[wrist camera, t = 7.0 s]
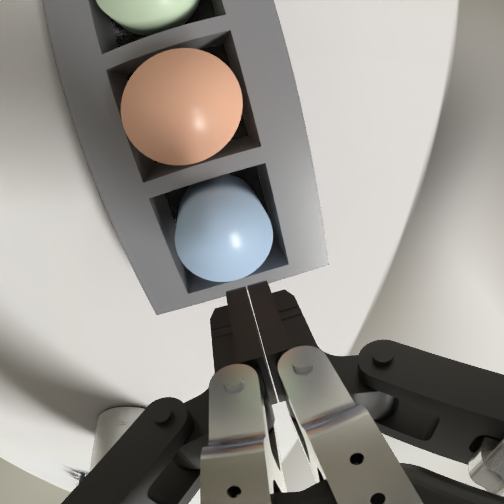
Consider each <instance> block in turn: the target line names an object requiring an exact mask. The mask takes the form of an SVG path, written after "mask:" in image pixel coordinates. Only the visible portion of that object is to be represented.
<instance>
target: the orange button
mask: <svg viewBox="0 0 504 504" xmlns="http://www.w3.org/2000/svg"><path fill="white" fill-rule="evenodd" d="M242 108H243V100H242V93H241V88H240V86H239V83H238V81H237V79H236V77H235V75H234V73H233V72H232V71H231V69H230V68H229V67H228V66H227V65H226V64H225V63H224V62H223V61H221V60H220V59H219V58H217V57H216V56H214V55H212V54H210V53H208V52H205V51H202V50H198V49H192V48H177V49H171V50H167V51H164V52H161V53H159V54H156V55H155V56H153V57H151V58H149V59H148V60H147V61H145V62H144V63H143V64H142V65H140V66H139V67H138V68H137V69H136V71H135V72H134V73H133V74H132V76H131V77H130V79H129V81H128V82H127V84H126V87H125V89H124V92H123V95H122V100H121V119H122V123H123V127H124V130H125V132H126V134H127V136H128V138H129V140H130V141H131V142H132V144H133V145H134V146H135V147H136V148H137V149H138V150H139V151H140V152H141V153H143V154H144V155H145V156H147V157H149V158H151V159H152V160H155V161H157V162H160V163H164V164H168V165H189V164H194V163H198V162H200V161H203V160H206V159H207V158H209V157H211V156H213V155H214V154H216V153H217V152H219V151H220V150H221V149H222V148H223V147H224V146H225V145H226V144H227V143H228V142H229V141H230V140H231V138H232V137H233V135H234V134H235V132H236V130H237V128H238V125H239V122H240V120H241V115H242Z"/></svg>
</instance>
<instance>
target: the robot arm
mask: <svg viewBox="0 0 504 504" xmlns="http://www.w3.org/2000/svg"><path fill="white" fill-rule="evenodd" d="M247 287H248V291H249V295H250V299H251V302H252V306H253V310H254V313H255V317H256V321H257V325H258V328H259V332H260V336H261V339H262V343H263V347H264V351H265V354H266V358H267V361H268V365H269V368H270V371H271V375H272V378H273V382H274V385H275V388H276V392H277V395H278V399H279V402H282V401H286V404H287V407H288V410H289V414H290V417H291V421H292V424H293V426H294V429H295V431H296V433H297V436H298V438H299V441H300V443H301V446H302V448H303V450H304V453H305V455H306V458H307V460H308V463H309V465H310V467H311V470H312V473H313V476H314V479H315V482H316V484H315V485H313V486H311V487H309V488H307V489H306V490H303V491H300V492H287V488H286V484H285V480H284V476H283V471H282V465H281V459H280V453H279V446H278V440H277V434H276V427H275V423H274V421H275V418H274V413H273V409H272V406H271V405H272V404H276V403H277V399H276V395H275V392H274V388H273V384H272V381H271V377H270V373H269V370H268V366H267V362H266V358H265V355H264V351H263V347H262V344H261V340H260V336H259V332H258V329H257V325H256V322H255V318H254V315H253V311H252V308H251V304H250V301H249V297H248V294H247V290H246V287H245V286H244V287H240V288H236V289H232V290H229V291H226V297H227V303H228V305H227V306H223V307H219V308H215V310H214V312H213V314H212V316H211V318H210V324H211V336H212V347H213V358H214V368H215V374H214V376H213V377H212V379H211V380H210V384H209V388H208V389H207V390H206V391H205V392H204V393H202V394H201V395H199V396H197V397H195V398H193V399H191V400H189V401H187V402H185V403H183V402H182V401H180V400H178V399H176V398H172V397H166V398H161V399H158V400H156V401H154V402H152V403H151V404H150V405H148V406H147V407H146V409H143V408H137V407H117V408H111V409H108V410H106V411H104V412H102V413H101V414H100V415H99V417H98V421H97V426H96V433H95V439H94V446H93V452H92V459H91V467H90V472H89V473H88V475H87V476H86V477H85V478H84V479H83V480H82V481H81V482H80V483H79V485H78V486H77V487H76V488H75V489H74V490H73V491H72V492H71V493H70V495H69V496H68V497H67V498H66V499H65V500H64V501H63V502H62V503H61V504H188V503H189V502H190V501H191V499H192V498H193V497H194V495H195V494H196V493H197V491H198V490H199V489H200V496H201V504H504V375H502V374H499V373H495V372H492V371H489V370H485V369H482V368H478V367H475V366H471V365H468V364H465V363H461V362H458V361H454V360H451V359H448V358H445V357H441V356H438V355H435V354H432V353H428V352H425V351H422V350H419V349H416V348H413V347H410V346H407V345H403V344H400V343H397V342H394V341H391V340H377V341H373V342H371V343H369V344H367V345H366V346H365V347H363V348H362V350H361V351H360V353H359V355H356V356H333V355H330V354H327V353H325V352H323V351H322V350H321V349H320V348H319V347H318V346H317V344H316V342H315V340H314V338H313V336H312V333H311V331H310V329H309V327H308V325H307V323H306V320H305V318H304V316H303V315H302V312H301V310H300V308H299V305H298V303H297V301H296V299H295V297H294V296H293V295H292V294H290V293H289V292H287V291H286V290H281V291H278V292H274V293H271V290H270V288H269V285H268V282H267V280H265V281H261V282H258V283H254V284H251V285H247ZM382 433H383V434H385V435H388V436H390V437H393V438H395V439H398V440H401V441H403V442H405V443H408V444H410V445H413V446H416V447H418V448H421V449H424V450H426V451H429V452H432V453H435V454H437V455H440V456H443V457H446V458H449V459H452V460H455V461H458V462H462V463H464V464H468V471H469V475H470V477H471V479H472V480H473V481H474V482H475V483H476V484H478V485H480V486H482V487H484V488H485V489H486V490H487V491H488V492H487V491H484V490H481V489H478V488H475V487H472V486H469V485H467V484H464V483H461V482H458V481H455V480H453V479H450V478H448V477H445V476H443V475H440V474H437V473H435V472H432V471H430V470H427V469H425V468H422V467H419V466H416V465H412V464H405V463H399V462H398V460H397V458H396V457H395V455H394V453H393V452H392V450H391V448H390V447H389V445H388V443H387V442H386V440H385V438H384V437H383V435H382Z"/></svg>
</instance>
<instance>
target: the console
mask: <svg viewBox="0 0 504 504" xmlns="http://www.w3.org/2000/svg"><path fill="white" fill-rule="evenodd" d="M211 1H212V5H213V8H214V12H215V15H216V17H213V18H209V19H205V20H201V21H197V22H193V23H189V24H186V25H182V26H179V27H175V28H172V29H169V30H166V31H163V32H160V33H156V34H154V35H151V36H148V37H145V38H142V39H139V40H137V41H134V42H131V43H129V44H126V45H124V46H121V47H119V48H118V46H117V42H116V38H115V34H114V31H113V27H112V23H111V19H110V16H109V15H107V14H106V13H105V12H104V11H103V10H102V9H101V8H100V7H99V6H98V4H97V2H96V0H43V5H44V10H45V16H46V21H47V26H48V30H49V35H50V40H51V44H52V48H53V52H54V57H55V61H56V64H57V68H58V72H59V76H60V79H61V83H62V87H63V90H64V94H65V97H66V100H67V104H68V107H69V110H70V113H71V116H72V120H73V123H74V126H75V129H76V132H77V135H78V138H79V140H80V143H81V146H82V149H83V152H84V155H85V157H86V160H87V163H88V165H89V168H90V171H91V173H92V176H93V179H94V181H95V184H96V186H97V189H98V191H99V194H100V196H101V199H102V201H103V203H104V206H105V208H106V211H107V213H108V215H109V218H110V220H111V222H112V225H113V227H114V229H115V231H116V234H117V236H118V238H119V240H120V242H121V245H122V247H123V249H124V251H125V253H126V255H127V257H128V260H129V262H130V264H131V266H132V268H133V270H134V272H135V274H136V276H137V278H138V280H139V282H140V284H141V286H142V288H143V290H144V292H145V294H146V296H147V298H148V300H149V302H150V304H151V305H152V307H153V309H154V311H155V313H156V315H159V314H163V313H166V312H170V311H174V310H177V309H181V308H185V307H188V306H192V305H196V304H199V303H203V302H206V301H210V300H213V299H217V298H220V297H224V296H226V291H229V290H232V289H236V288H240V287H244V286H245V287H246V290H248V287H247V285H251V284H254V283H258V282H261V281H265V280H267V282H268V283H271V282H275V281H278V280H281V279H285V278H288V277H291V276H294V275H298V274H301V273H304V272H307V271H311V270H314V269H317V268H320V267H323V266H326V265H329V260H328V253H327V246H326V239H325V232H324V226H323V219H322V213H321V207H320V201H319V195H318V189H317V184H316V178H315V173H314V167H313V162H312V157H311V151H310V146H309V141H308V137H307V132H306V127H305V122H304V118H303V113H302V108H301V104H300V99H299V95H298V91H297V87H296V82H295V78H294V74H293V70H292V66H291V62H290V58H289V54H288V50H287V47H286V43H285V39H284V35H283V32H282V28H281V24H280V21H279V17H278V14H277V11H276V7H275V4H274V0H211ZM221 44H224V47H225V50H226V54H227V57H228V61H229V65H230V68H231V71H232V72H233V73H234V75H235V77H236V79H237V81H238V83H239V86H240V88H241V93H242V100H243V108H242V113H243V116H244V120H245V124H246V128H247V132H248V135H249V136H245V137H241V138H238V139H234V140H230V141H229V142H228V143H227V144H226V145H225V146H224V147H223V148H222V149H221V150H220V151H219V152H217V153H216V154H214V155H213V156H211V157H209V158H207V159H206V160H203V161H200V162H198V163H194V164H189V165H168V164H164V163H157V164H154V162H153V160H152V159H151V158H149V157H147V156H145V155H144V154H143V153H141V152H140V151H139V150H138V149H137V148H136V147H135V146H134V145H133V144H132V142H131V141H130V140H129V138H128V136H127V134H126V132H125V130H124V127H123V123H122V119H121V100H122V95H123V92H124V89H125V87H126V84H127V82H128V81H127V77H126V74H129V73H131V72H134V71H136V69H137V68H138V67H139V66H140V65H142V64H143V63H144V62H145V61H147V60H148V59H149V58H151V57H153V56H155V55H156V54H159V53H161V52H164V51H167V50H171V49H177V48H192V49H198V50H202V49H205V48H209V47H213V46H217V45H221ZM253 166H256V167H257V171H258V174H259V178H260V182H261V186H262V190H263V194H264V198H265V203H266V207H267V211H268V215H269V219H270V222H271V225H272V230H273V242H272V246H271V250H270V252H269V254H268V256H267V258H266V260H265V261H264V262H263V263H262V265H261V266H260V267H259V268H258V269H256V270H255V271H254V272H253V273H251V274H249V275H248V276H246V277H244V278H241V279H238V280H234V281H229V282H215V281H210V280H206V279H203V278H201V277H199V276H197V275H195V274H194V273H192V272H191V271H190V270H189V269H187V268H186V266H185V265H184V264H183V263H182V261H181V260H180V258H179V256H178V254H177V251H176V246H175V231H176V223H175V221H174V218H173V215H172V213H171V210H170V207H169V205H168V202H167V199H166V196H165V193H167V192H170V191H173V190H176V189H179V188H182V187H185V186H189V185H192V184H195V183H198V182H201V181H205V180H208V179H211V178H214V177H218V176H221V175H225V174H228V173H231V172H235V171H238V170H242V169H245V168H249V167H253Z"/></svg>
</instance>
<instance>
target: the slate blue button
mask: <svg viewBox="0 0 504 504" xmlns="http://www.w3.org/2000/svg"><path fill="white" fill-rule="evenodd" d="M272 242H273V230H272V225H271V222H270V219H269V217H268V215H267V213H266V212H265V210H264V208H263V206H262V204H261V202H260V201H259V199H258V197H257V195H256V193H255V192H254V190H253V189H252V188H251V187H250V185H249V184H247V183H246V182H245V181H243V180H242V179H240V178H238V177H236V176H233V175H229V174H225V175H221V176H218V177H214V178H211V179H208V180H205V181H201V182H198V183H195V184H192V185H191V186H190V187H189V188H188V189H187V190H186V191H185V193H184V195H183V196H182V199H181V201H180V205H179V211H178V217H177V224H176V231H175V246H176V251H177V254H178V256H179V258H180V260H181V261H182V263H183V264H184V265H185V266H186V268H187V269H189V270H190V271H191V272H192V273H194V274H195V275H197V276H199V277H201V278H203V279H206V280H210V281H215V282H229V281H234V280H238V279H241V278H244V277H246V276H248V275H249V274H251V273H253V272H254V271H255V270H256V269H258V268H259V267H260V266H261V265H262V263H263V262H264V261H265V260H266V258H267V256H268V254H269V252H270V250H271V246H272Z"/></svg>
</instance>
